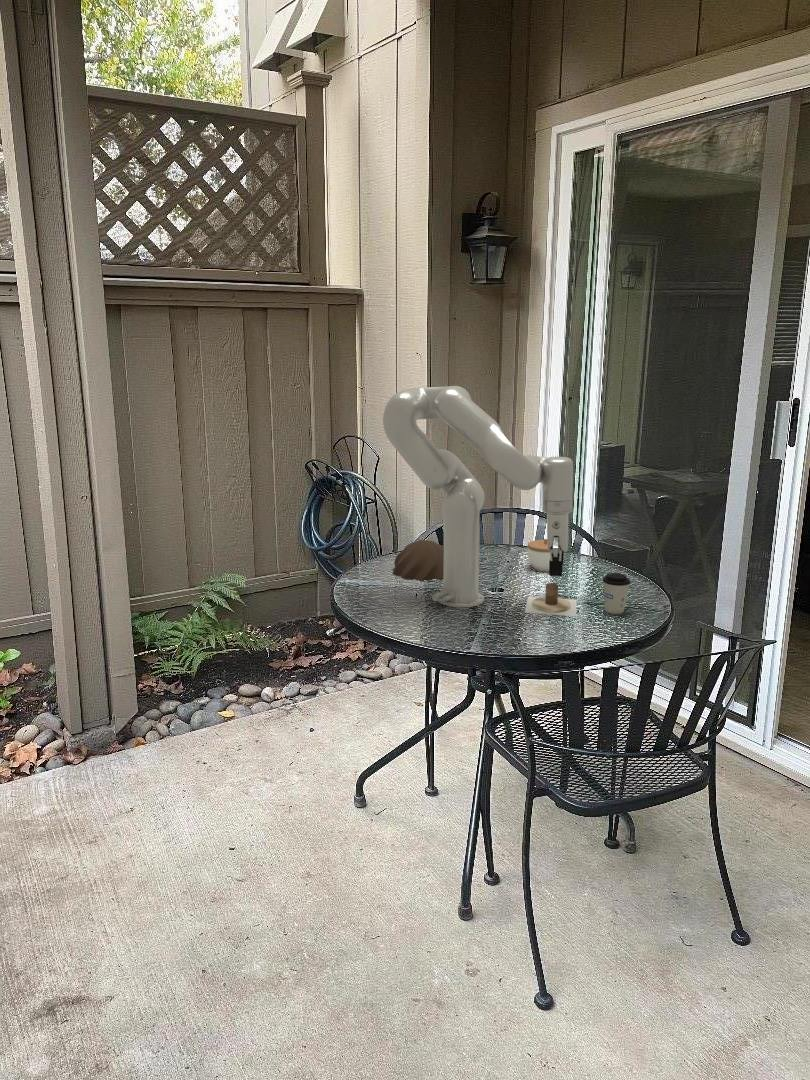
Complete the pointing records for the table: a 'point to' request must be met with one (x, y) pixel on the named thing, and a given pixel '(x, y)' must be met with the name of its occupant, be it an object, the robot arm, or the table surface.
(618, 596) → the coffee cup
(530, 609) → the mat
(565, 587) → the table surface
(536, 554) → the lidded jar
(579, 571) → the table surface
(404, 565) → the decorative dome
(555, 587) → the lid
